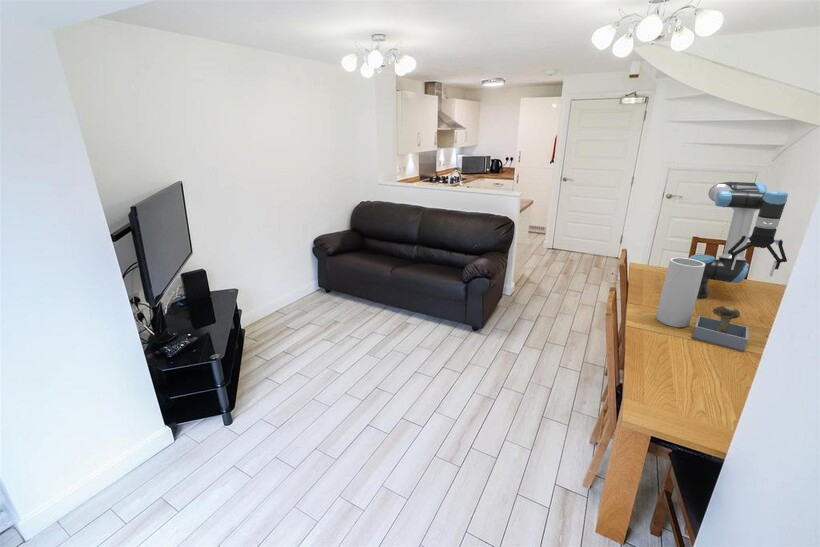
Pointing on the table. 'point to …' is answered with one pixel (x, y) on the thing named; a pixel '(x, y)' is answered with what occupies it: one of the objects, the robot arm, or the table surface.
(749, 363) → the table surface
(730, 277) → the robot arm
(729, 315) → the mushroom
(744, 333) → the bin
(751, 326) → the table surface
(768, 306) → the table surface
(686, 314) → the vase
